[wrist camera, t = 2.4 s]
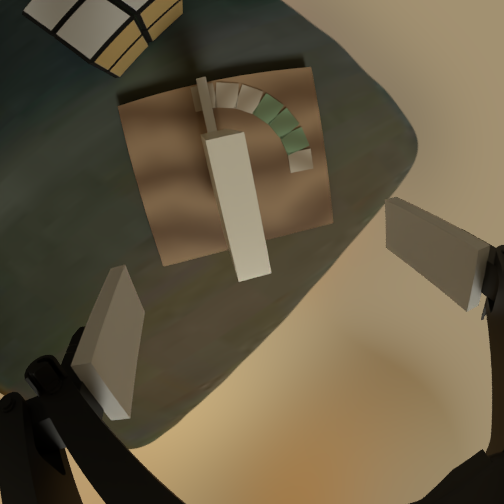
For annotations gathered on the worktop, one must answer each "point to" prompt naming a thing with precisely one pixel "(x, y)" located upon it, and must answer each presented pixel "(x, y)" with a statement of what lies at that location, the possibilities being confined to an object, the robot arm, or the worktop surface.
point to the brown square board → (259, 149)
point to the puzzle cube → (105, 27)
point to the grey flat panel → (234, 193)
